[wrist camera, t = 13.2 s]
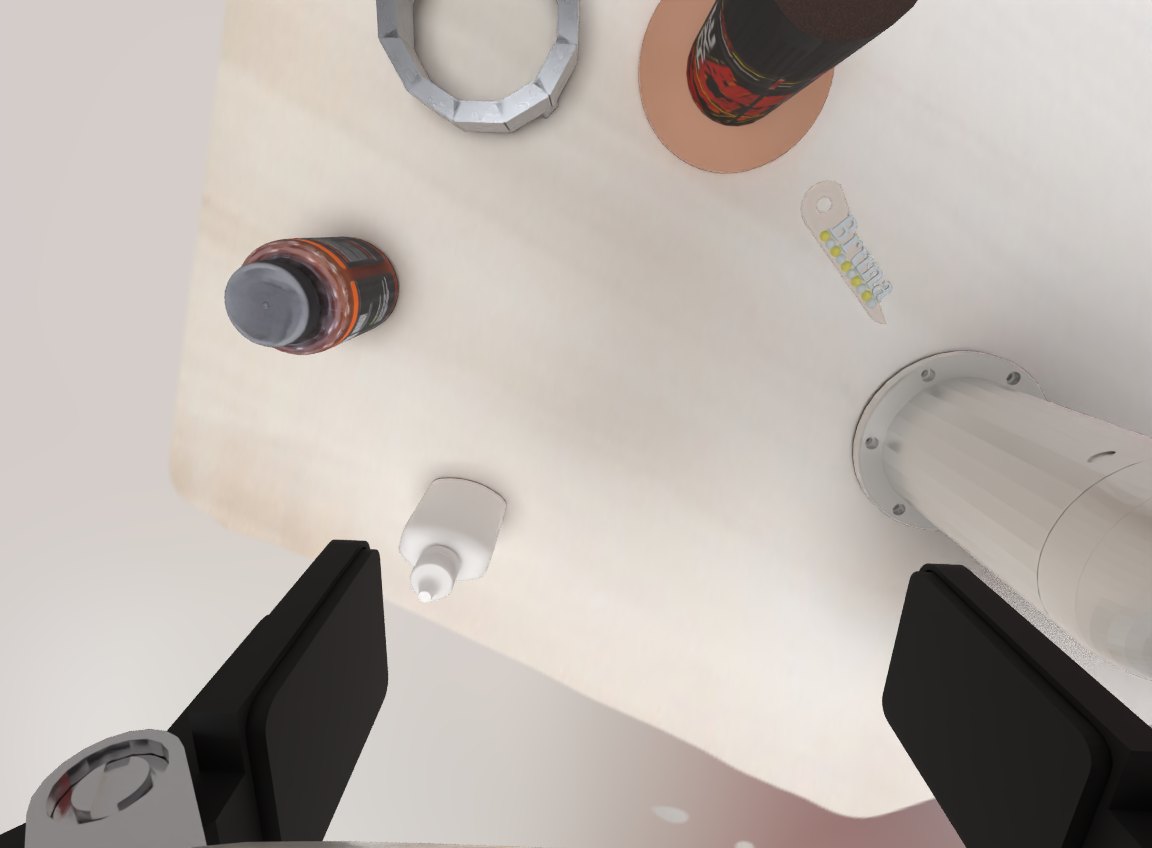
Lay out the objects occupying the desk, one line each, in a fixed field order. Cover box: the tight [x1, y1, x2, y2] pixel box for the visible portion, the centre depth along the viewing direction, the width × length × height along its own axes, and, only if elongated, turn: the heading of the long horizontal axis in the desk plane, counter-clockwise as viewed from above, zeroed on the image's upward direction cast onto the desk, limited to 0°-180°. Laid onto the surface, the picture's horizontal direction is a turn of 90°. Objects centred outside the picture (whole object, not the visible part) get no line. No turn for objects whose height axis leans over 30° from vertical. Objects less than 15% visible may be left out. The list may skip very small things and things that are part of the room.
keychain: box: [801, 181, 892, 324], centre depth 38 cm, size 10×1×3 cm
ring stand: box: [376, 0, 580, 133], centre depth 32 cm, size 10×10×5 cm
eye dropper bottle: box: [399, 478, 506, 603], centre depth 37 cm, size 4×6×12 cm
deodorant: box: [686, 0, 917, 126], centre depth 27 cm, size 6×6×15 cm
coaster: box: [639, 0, 834, 173], centre depth 34 cm, size 11×11×1 cm
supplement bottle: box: [224, 237, 398, 355], centre depth 33 cm, size 6×6×11 cm
